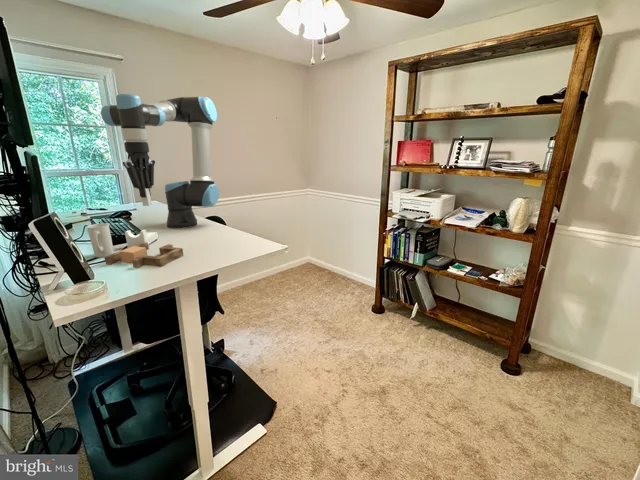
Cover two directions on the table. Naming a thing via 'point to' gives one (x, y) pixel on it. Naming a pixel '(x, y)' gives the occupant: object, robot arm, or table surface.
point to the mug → (101, 239)
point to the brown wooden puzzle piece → (166, 251)
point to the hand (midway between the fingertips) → (147, 205)
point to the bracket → (140, 237)
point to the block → (132, 253)
